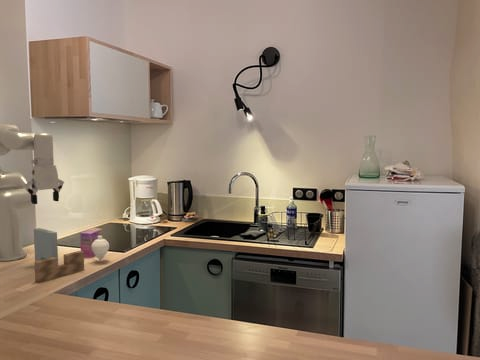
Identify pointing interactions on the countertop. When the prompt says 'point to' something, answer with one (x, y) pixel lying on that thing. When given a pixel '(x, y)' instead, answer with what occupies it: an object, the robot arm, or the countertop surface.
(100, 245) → the spinning top
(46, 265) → the walnut slotted plate
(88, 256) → the box
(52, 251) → the grey slotted plate
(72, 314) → the countertop surface
